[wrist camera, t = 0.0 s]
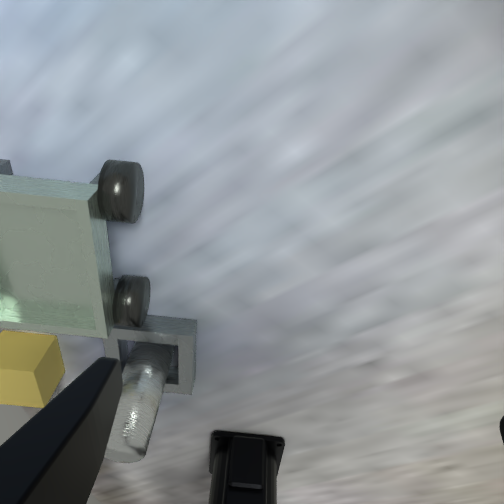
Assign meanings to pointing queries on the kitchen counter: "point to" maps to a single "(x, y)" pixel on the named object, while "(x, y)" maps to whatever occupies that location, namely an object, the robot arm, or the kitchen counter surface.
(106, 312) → the trolley
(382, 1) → the kitchen counter surface
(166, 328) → the socket
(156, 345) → the pin
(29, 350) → the block
